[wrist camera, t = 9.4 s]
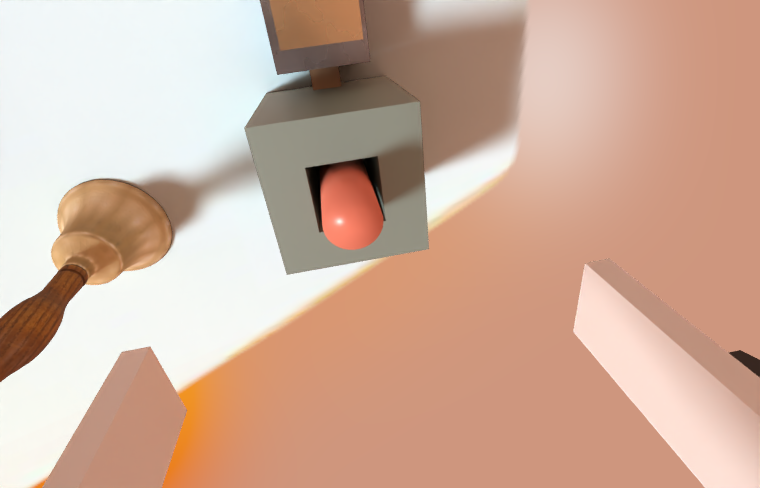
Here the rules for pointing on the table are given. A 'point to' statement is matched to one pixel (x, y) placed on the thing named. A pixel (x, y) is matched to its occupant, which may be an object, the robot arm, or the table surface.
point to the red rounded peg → (349, 205)
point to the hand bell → (85, 260)
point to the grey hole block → (332, 145)
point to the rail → (325, 78)
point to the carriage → (315, 33)
